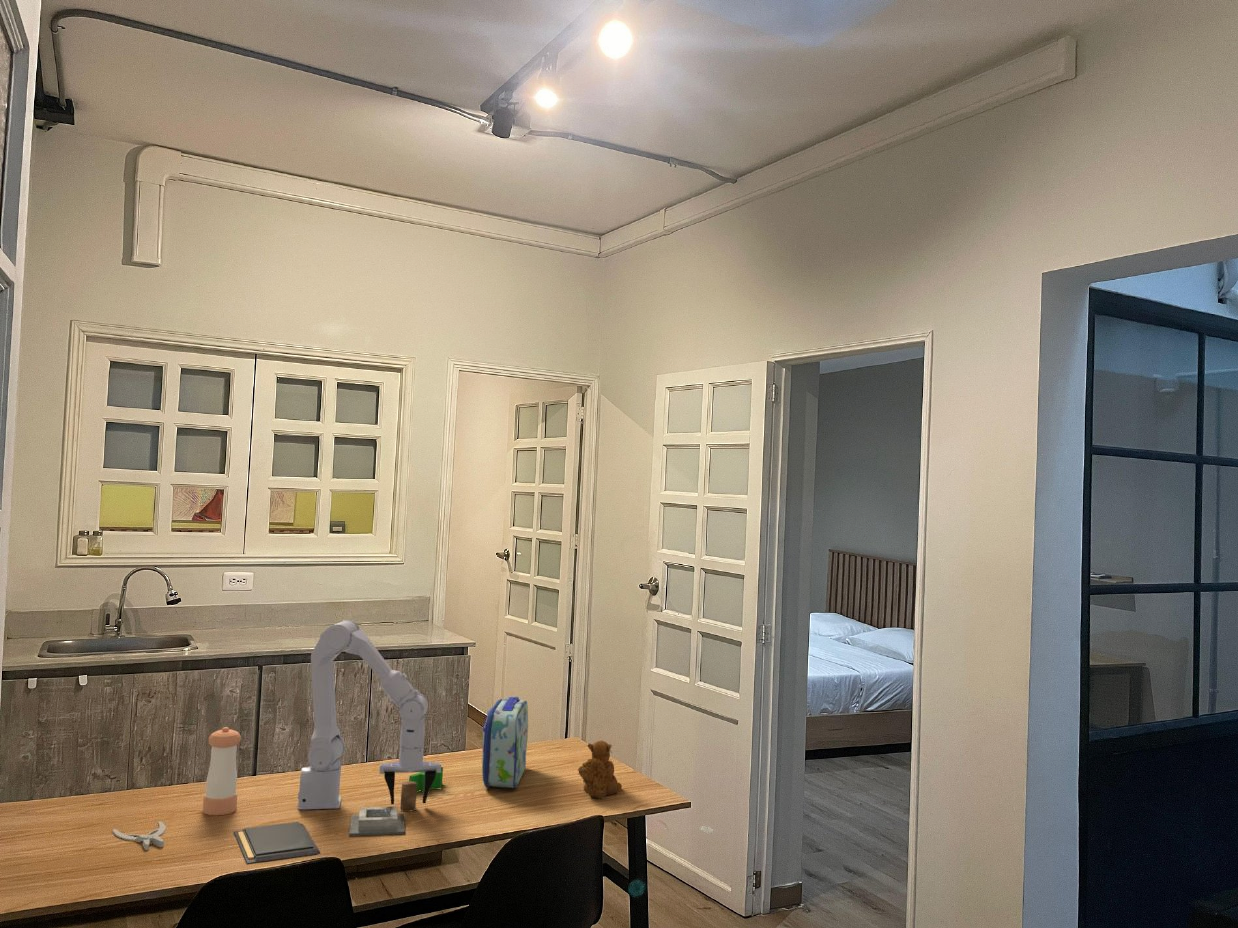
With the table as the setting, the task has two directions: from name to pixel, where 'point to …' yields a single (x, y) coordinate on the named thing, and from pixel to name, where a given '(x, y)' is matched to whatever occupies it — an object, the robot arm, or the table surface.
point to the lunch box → (505, 743)
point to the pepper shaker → (222, 773)
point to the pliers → (145, 837)
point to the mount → (377, 822)
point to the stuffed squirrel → (599, 772)
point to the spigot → (408, 796)
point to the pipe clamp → (420, 780)
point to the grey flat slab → (275, 842)
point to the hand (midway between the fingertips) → (408, 802)
